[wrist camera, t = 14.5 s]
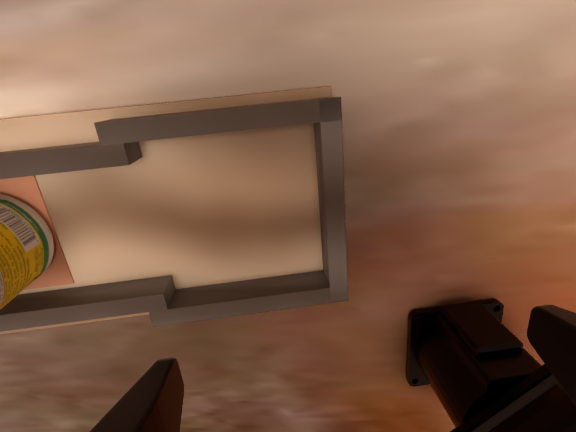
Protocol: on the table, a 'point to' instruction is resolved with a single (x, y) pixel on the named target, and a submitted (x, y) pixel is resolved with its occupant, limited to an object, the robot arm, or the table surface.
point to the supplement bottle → (21, 247)
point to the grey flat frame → (182, 208)
